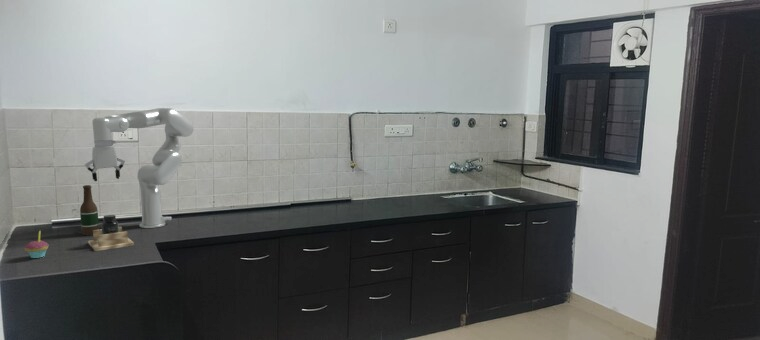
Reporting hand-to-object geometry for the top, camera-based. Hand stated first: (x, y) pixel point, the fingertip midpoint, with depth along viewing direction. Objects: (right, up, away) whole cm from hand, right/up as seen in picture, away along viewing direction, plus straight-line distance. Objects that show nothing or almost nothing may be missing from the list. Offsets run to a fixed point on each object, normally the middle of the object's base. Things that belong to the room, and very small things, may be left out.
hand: (106, 179), depth 263 cm
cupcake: (-13, -32, -32) cm, 47 cm away
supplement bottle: (+8, -28, -12) cm, 32 cm away
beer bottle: (-12, -27, +7) cm, 30 cm away
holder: (+8, -29, -12) cm, 33 cm away
